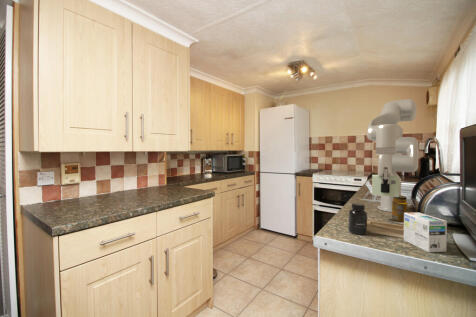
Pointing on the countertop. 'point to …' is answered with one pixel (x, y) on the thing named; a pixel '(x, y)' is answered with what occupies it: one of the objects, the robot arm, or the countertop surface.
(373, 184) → the door panel
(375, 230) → the bottom track
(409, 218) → the light bulb box
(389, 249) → the countertop surface
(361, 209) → the supplement bottle
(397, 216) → the condiment
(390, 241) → the countertop surface
